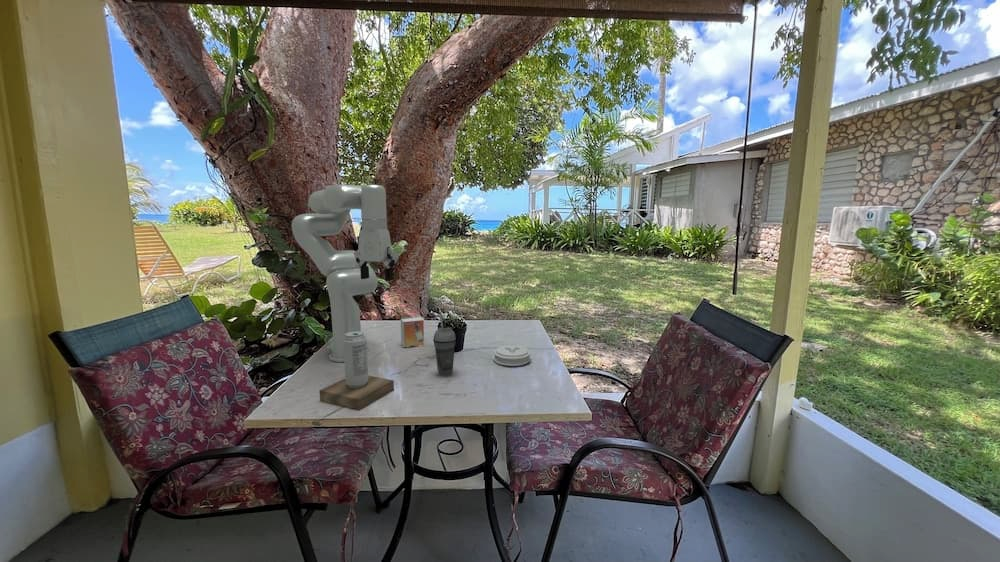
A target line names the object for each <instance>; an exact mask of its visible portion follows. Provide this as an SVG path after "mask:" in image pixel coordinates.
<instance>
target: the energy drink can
mask: <svg viewBox="0 0 1000 562" xmlns="http://www.w3.org/2000/svg"><path fill="white" fill-rule="evenodd" d="M343 347H344V362H343V363H344V371H345V372H344V375H345V377H344V379H345V378H346V384H347V385H348V387H349V388H361V387H364V386H365V385H366V384H367V382H368V375H369V368H368V367H369V366H368V365H369V364H368V350H367V337H366V336H365V335H364V332H363V331H362V330H361V331H353V332H348V333H346V334H345V338H344V340H343Z"/></svg>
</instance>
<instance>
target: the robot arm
mask: <svg viewBox="0 0 1000 562" xmlns="http://www.w3.org/2000/svg"><path fill="white" fill-rule="evenodd" d="M386 191H387V190H386V188H385V187H384V186H383V185H380V184H363V185H359V184H358V185H357V184H355V185H354V184H334V185H328V186H326V187H325V188H324V189H321V190H317V191H314V192H312V193H311V194H310V195H309V197H308V199H307V200H308V202H307V203H308V205H309V208H310V209H311V211H313V213H311V212H310V213H308V212H307V213H301V214H298V215H297V216H295V217H294V218H293V219H292V222H291V230H292V235H293V237H294V239H295V241H296V243H297V244H298V246H299V247H300V248H301V249H302V250H303V251H304V252H306V254H307V255H308V256H309V257H310V258H311V260H312V261H313V263H314V264H315V266H316V268H317V269H318V270H319V272H321V274H322V275H324V277H326V282H325V283H326V288H327V289H326V290H327V292H328V296H329V302H330V310H331V311H330V313H331V314H330V315H331V325H332V341H331V342H330V343H329V345H327V346H326V348H327V349H328V350H331V353H330V354H329V357H328V358H329V360H331V361H332V362H336V363H345V362H344V347H343V340H344V338H345V334H346V333H348V332H353V331H361V332H362V325H361V312H360V311H361V309H360V306H359V304H358V303H357V301H356V300H355V299H354V297H355V296H358V295H365V294H366V295H367V294H371V293H374V291H376V289H377V288H378V281H379V280H378V277H377V274H376V272H375V271H374V270H373V268H372V266H371V265H370V264H369V263H382V264H384V266H385V268H384V281H385V282H390V281H393V280H394V268H395V266H396V264H397V263H398V260H399V257H400V254H399V253H398V252H396V251H395V250H393V249H392V241H391V235H390V231H389V229H388V223H387V222H388V220H387V195H386ZM351 210H361V213H360V215H361V217H360V218H361V221H360V223H359V224H360V226H361V229H360V230H359V234H358V246H357V247H358V249H357V250H353V249H350V250H349V249H346V250H343V249H342V250H339V249H337V250H336V249H335V248H334V247H333V246H332V244H331V243H330V242H329V241H328V240H326V239H325V238H323V236H327V237H328V236H337V235H338V234H340V233H341V232H342V230H343V228H344V226H345V225H346V224H345V223H346V222H347V219H348V217H349V215H350V213H351ZM314 212H315V213H314ZM321 236H322V237H321Z"/></svg>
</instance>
